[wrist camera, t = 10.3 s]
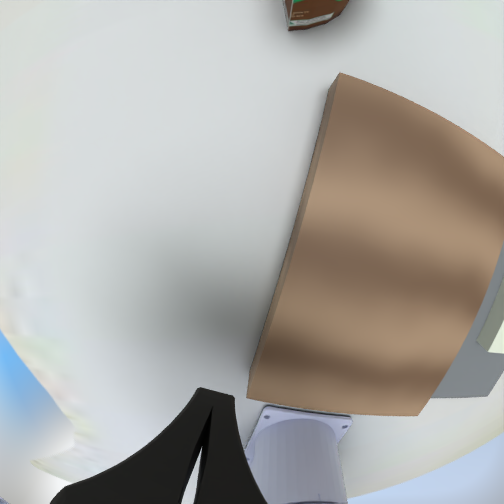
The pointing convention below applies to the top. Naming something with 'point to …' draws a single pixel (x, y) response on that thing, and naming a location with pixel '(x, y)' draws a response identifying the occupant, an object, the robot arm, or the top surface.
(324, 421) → the robot arm
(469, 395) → the mat
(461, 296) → the board
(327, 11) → the food container
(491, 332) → the tile
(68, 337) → the top surface
